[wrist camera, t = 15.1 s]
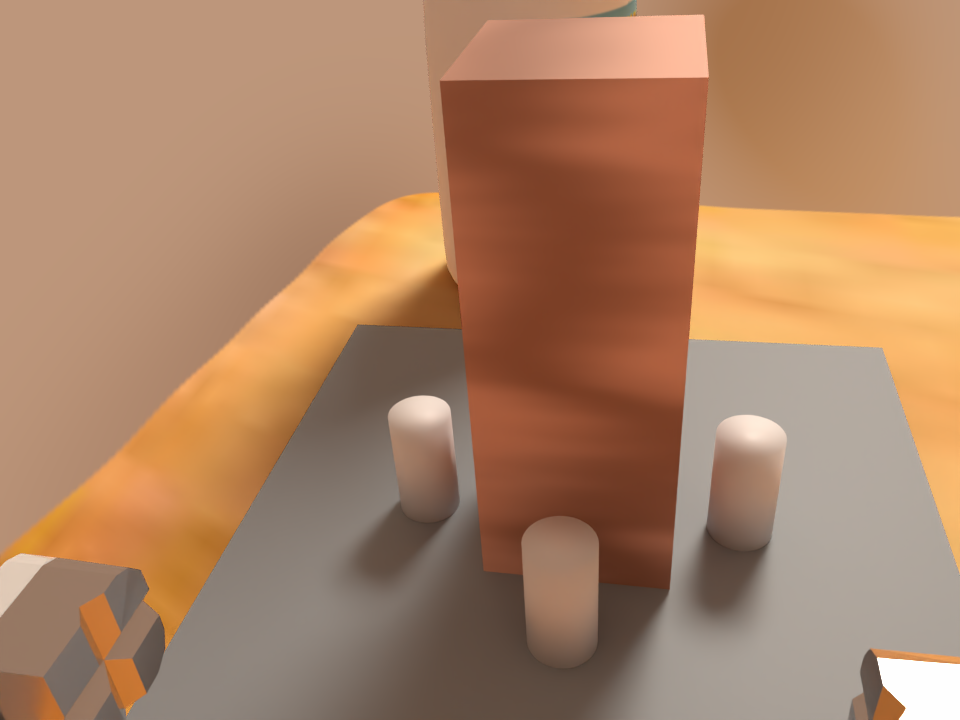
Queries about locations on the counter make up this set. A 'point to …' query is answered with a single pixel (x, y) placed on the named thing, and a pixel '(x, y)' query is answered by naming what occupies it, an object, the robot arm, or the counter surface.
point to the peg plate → (462, 623)
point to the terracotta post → (577, 274)
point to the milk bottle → (450, 28)
